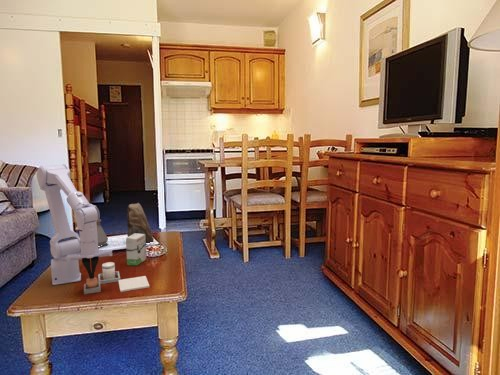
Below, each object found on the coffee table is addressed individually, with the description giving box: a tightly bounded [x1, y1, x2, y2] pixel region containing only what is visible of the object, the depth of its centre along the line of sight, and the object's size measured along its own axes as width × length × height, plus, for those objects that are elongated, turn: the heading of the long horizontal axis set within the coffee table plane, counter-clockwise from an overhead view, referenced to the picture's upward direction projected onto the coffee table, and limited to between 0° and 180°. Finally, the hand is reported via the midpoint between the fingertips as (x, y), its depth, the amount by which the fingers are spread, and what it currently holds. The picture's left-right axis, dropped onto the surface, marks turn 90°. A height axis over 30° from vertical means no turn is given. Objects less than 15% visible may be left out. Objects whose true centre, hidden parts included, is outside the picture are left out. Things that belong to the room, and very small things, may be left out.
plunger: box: [85, 276, 99, 289], centre depth 129 cm, size 4×4×2 cm
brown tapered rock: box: [125, 202, 154, 243], centre depth 183 cm, size 13×13×20 cm
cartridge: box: [101, 261, 116, 280], centre depth 138 cm, size 4×4×6 cm
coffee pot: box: [96, 218, 109, 246], centre depth 174 cm, size 21×12×15 cm, turn 21°
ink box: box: [125, 233, 147, 266], centre depth 156 cm, size 9×5×12 cm, turn 168°
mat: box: [117, 275, 150, 293], centre depth 134 cm, size 10×10×1 cm
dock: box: [83, 270, 121, 295], centre depth 135 cm, size 12×14×2 cm
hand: (91, 277), depth 128 cm, fingers closed
